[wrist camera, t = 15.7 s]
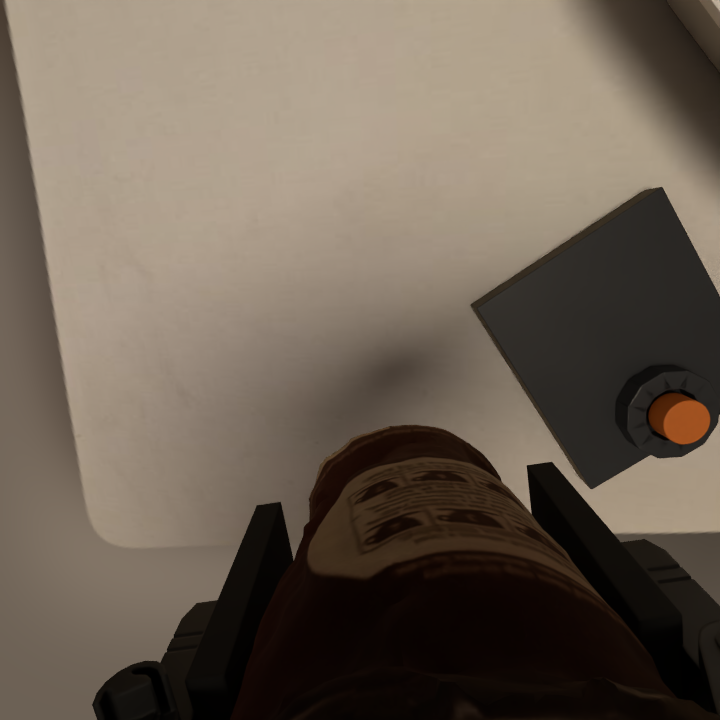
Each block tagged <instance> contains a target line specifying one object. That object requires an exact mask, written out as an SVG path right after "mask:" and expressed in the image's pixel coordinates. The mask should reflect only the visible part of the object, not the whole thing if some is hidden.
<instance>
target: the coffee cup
mask: <svg viewBox="0 0 720 720" xmlns="http://www.w3.org/2000/svg"><path fill="white" fill-rule="evenodd" d="M309 502H310V503H309V510H310V516H309V522H308V523H307V524H306V525H305V526H304V532H303V538H302V540H301V543H300V545H299V548H298V550H297V553H296V557H295V560H294V562H292V564H291V565H290V566H289V567H288V569H287V570H286V572H285V573H284V574H283V576H282V577H281V579H280V581H279V583H278V585H277V587H276V590H275V592H274V594H273V596H272V599H271V601H270V603H269V605H268V607H267V609H266V611H265V613H264V615H263V617H262V619H261V621H260V624H259V628H258V631H257V634H256V637H255V641H254V646H253V650H252V653H251V655H250V658H249V660H248V663H247V666H246V670H245V673H244V677H243V681H242V686H241V689H240V692H239V695H238V698H237V701H236V704H235V706H234V709H233V712H232V715H231V718H230V720H720V717H719V716H718V715H717V714H714V713H711V712H707V711H706V710H704V709H703V708H702V707H700V706H699V705H698V704H696V703H695V702H694V701H691V700H684V699H678V698H677V697H676V696H675V695H674V694H673V692H672V691H671V690H670V689H669V688H668V687H667V686H666V685H665V684H664V683H663V681H662V679H661V677H660V675H659V672H658V670H657V668H656V665H655V663H654V661H653V658H652V656H651V655H650V654H649V652H648V651H647V650H646V648H645V647H644V646H643V645H642V643H641V642H640V641H639V639H638V638H637V637H636V636H635V634H634V633H633V632H632V631H631V629H630V628H629V627H628V626H627V624H626V623H625V622H624V621H623V619H622V618H621V617H620V616H619V615H618V614H617V613H616V612H615V611H614V610H613V609H612V608H611V607H610V606H609V605H608V604H607V603H606V602H605V601H604V599H603V598H602V597H601V596H600V595H599V594H598V592H597V591H596V590H595V589H594V588H593V587H592V586H591V584H590V583H589V582H588V581H587V579H586V578H585V577H584V576H583V574H582V573H581V572H580V571H579V569H578V568H577V567H576V566H575V564H574V563H573V562H572V560H571V559H570V557H569V555H568V554H567V552H566V551H565V550H564V549H563V548H562V547H561V546H560V545H559V544H558V543H557V542H556V541H555V540H554V539H553V538H552V537H551V536H550V535H549V534H548V533H547V532H545V531H544V530H543V529H542V528H541V526H540V525H539V524H538V523H537V521H536V520H535V519H534V517H533V516H532V514H531V513H530V512H529V511H528V509H527V508H526V507H525V506H524V505H523V504H522V502H521V501H520V500H519V499H518V498H517V497H516V496H515V495H514V494H513V493H512V491H511V490H510V489H509V488H508V487H507V486H505V485H504V484H503V483H502V481H501V478H500V476H499V475H498V473H497V471H496V470H495V468H494V467H493V466H492V464H491V463H490V462H489V461H488V459H487V458H486V457H485V456H484V455H483V454H482V453H481V452H480V451H478V450H477V449H475V448H474V447H473V446H472V445H470V444H469V443H467V442H465V441H464V440H462V439H461V438H459V437H457V436H456V435H454V434H453V433H451V432H449V431H446V430H444V429H440V428H436V427H430V426H421V425H400V426H389V427H386V428H383V429H379V430H376V431H373V432H370V433H366V434H362V435H359V436H356V437H354V438H352V439H350V440H349V442H348V443H347V444H346V445H344V446H343V447H342V448H341V449H339V450H338V451H336V452H334V453H333V454H332V455H331V456H328V457H326V459H325V460H324V461H323V462H322V463H321V464H320V467H319V471H318V474H317V479H316V483H315V486H314V488H313V490H312V492H311V494H310V497H309Z"/></svg>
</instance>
